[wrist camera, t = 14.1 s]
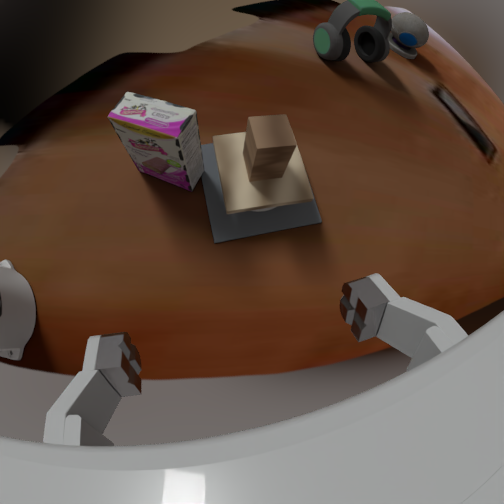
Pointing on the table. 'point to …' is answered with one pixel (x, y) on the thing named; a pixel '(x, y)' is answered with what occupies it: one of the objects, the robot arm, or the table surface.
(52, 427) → the robot arm
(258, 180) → the lid
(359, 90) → the table surface
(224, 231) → the mat
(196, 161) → the candy bar box
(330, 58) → the headphones
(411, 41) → the webcam
